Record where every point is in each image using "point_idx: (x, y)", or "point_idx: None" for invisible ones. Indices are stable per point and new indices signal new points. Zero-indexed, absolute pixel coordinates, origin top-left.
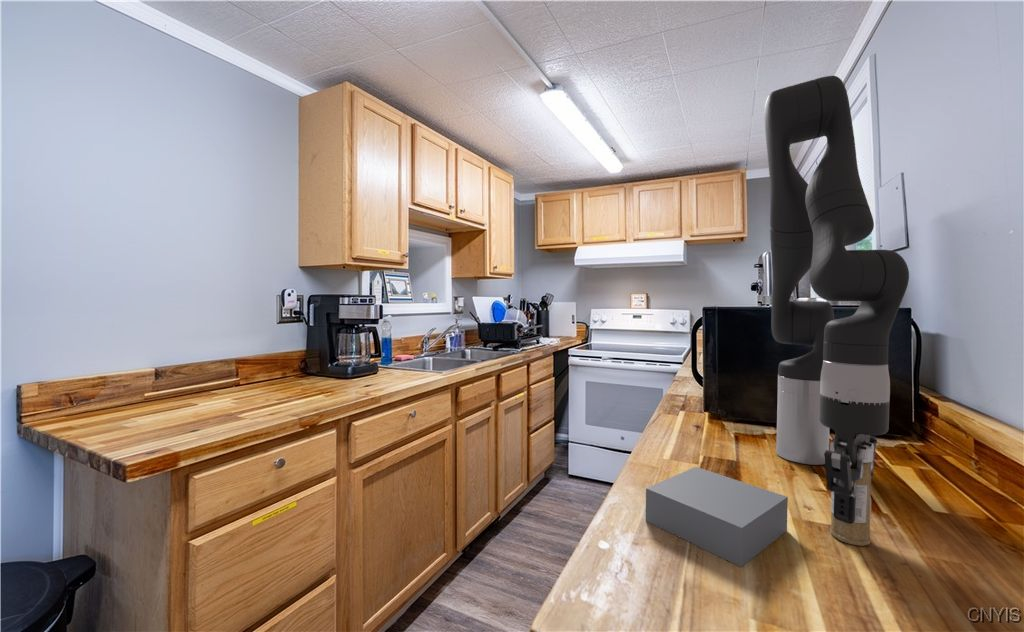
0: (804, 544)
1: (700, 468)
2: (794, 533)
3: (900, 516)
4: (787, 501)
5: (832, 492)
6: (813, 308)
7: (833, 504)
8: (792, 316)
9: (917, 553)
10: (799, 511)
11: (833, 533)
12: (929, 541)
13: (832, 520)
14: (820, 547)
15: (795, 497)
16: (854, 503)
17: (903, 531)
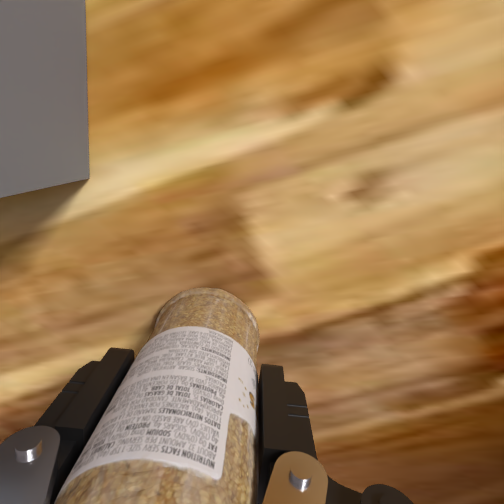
0: (46, 242)
1: None
2: (95, 201)
3: (496, 415)
4: (14, 194)
5: (132, 389)
6: None
7: (140, 360)
8: None
9: None
10: (303, 171)
11: (166, 304)
12: (354, 469)
13: (170, 317)
14: (70, 281)
15: (449, 123)
16: None
17: (377, 425)
